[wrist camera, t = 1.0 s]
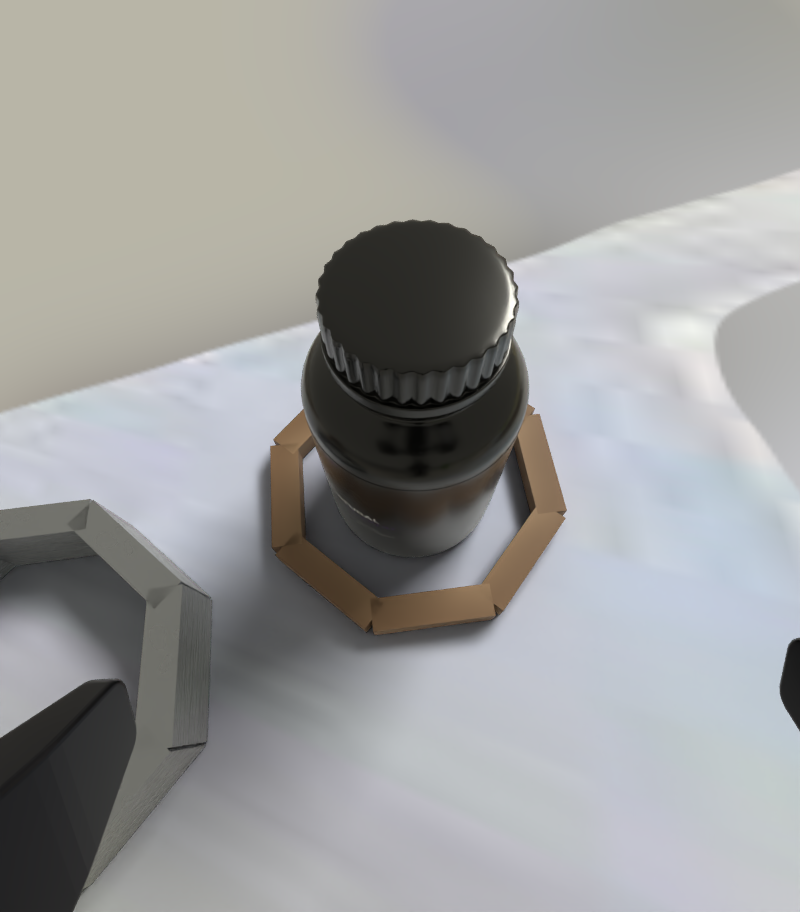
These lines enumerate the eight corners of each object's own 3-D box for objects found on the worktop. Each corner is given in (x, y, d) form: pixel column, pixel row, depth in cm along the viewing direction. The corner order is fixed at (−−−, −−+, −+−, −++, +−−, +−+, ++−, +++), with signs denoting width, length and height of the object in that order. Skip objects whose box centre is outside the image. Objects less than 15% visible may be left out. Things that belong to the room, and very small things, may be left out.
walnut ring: (443, 697, 19) (445, 697, 18) (219, 510, 22) (211, 501, 21) (601, 463, 23) (609, 452, 22) (390, 334, 26) (390, 321, 26)
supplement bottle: (317, 545, 22) (221, 381, 11) (356, 408, 25) (311, 173, 14) (479, 578, 21) (550, 438, 10) (500, 433, 24) (572, 204, 13)
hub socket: (-9, 1006, 15) (-98, 1069, 13) (-197, 721, 19) (-297, 723, 16) (277, 658, 20) (256, 649, 17) (79, 477, 23) (36, 447, 21)
